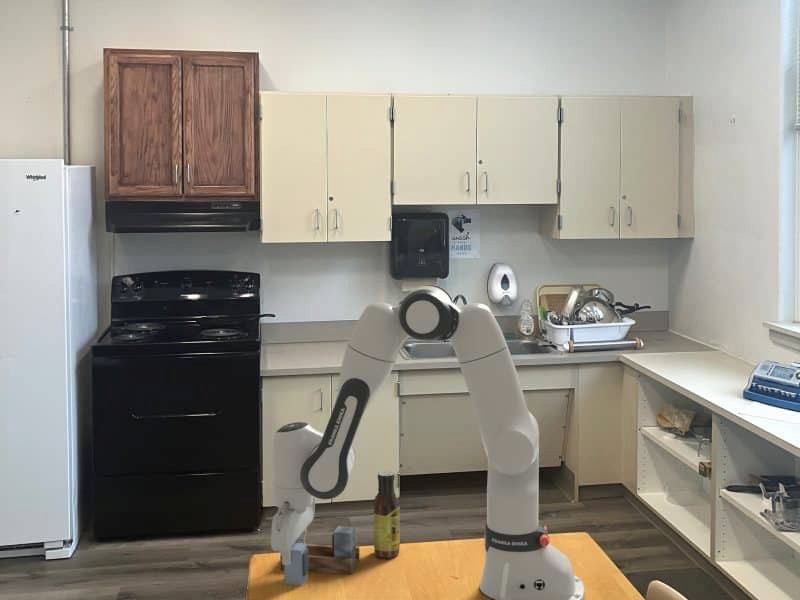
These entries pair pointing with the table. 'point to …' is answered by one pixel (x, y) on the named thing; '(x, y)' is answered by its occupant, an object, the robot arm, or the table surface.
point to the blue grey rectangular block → (297, 565)
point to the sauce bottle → (386, 518)
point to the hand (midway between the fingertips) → (293, 555)
